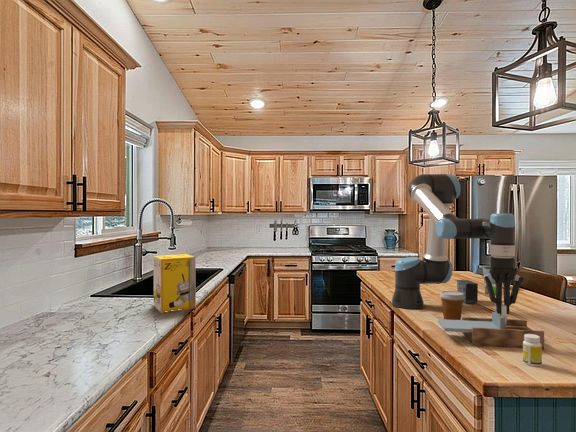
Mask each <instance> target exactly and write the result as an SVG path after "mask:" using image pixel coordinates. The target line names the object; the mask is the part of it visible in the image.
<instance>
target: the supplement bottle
mask: <svg viewBox="0 0 576 432" xmlns="http://www.w3.org/2000/svg"><path fill="white" fill-rule="evenodd" d="M542 351H543V350H542V345H541V343H540V337H539V336H538V335H534V334H525V335H524V341H523V349H522V362H523V364H525V365H527V366H530V367H541V366H542V365H543V364H542V363H543V352H542Z"/></svg>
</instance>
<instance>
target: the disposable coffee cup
mask: <svg viewBox="0 0 576 432" xmlns="http://www.w3.org/2000/svg"><path fill="white" fill-rule="evenodd" d="M439 296H440V299H441V306H442V313H443V319H445V320H462V313H463V307H464V306H463V305H464V303H463V300H464V298H465V297H464V294H463V293H461V292H457V290H455V291H454V290H442V291H441V292H440V294H439Z"/></svg>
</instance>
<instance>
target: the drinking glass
mask: <svg viewBox="0 0 576 432" xmlns="http://www.w3.org/2000/svg"><path fill="white" fill-rule="evenodd" d="M490 269H491V266H484V267H482V272H483V273H482V274H483V275H485V276H486V275H487V274H489V271H490ZM490 281H491V283H492V284H495V280H494V279H493V278H492V277H491V280H490ZM485 283H486V282H485V280H484V279H483V288H485Z"/></svg>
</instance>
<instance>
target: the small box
mask: <svg viewBox="0 0 576 432" xmlns="http://www.w3.org/2000/svg"><path fill="white" fill-rule="evenodd" d="M478 285H479V284H478V283H477V282H475V281H471V280H469V279H467V280H466V279H457V280H456V287H457V288H456V292H461V293H463V294H464V297H465V298H464V300H463V304H465V305H478V301H479V300H478V299H479V298H478V296H479V295H478V294H479V293H478V291H479V290H478V289H479V286H478Z"/></svg>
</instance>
